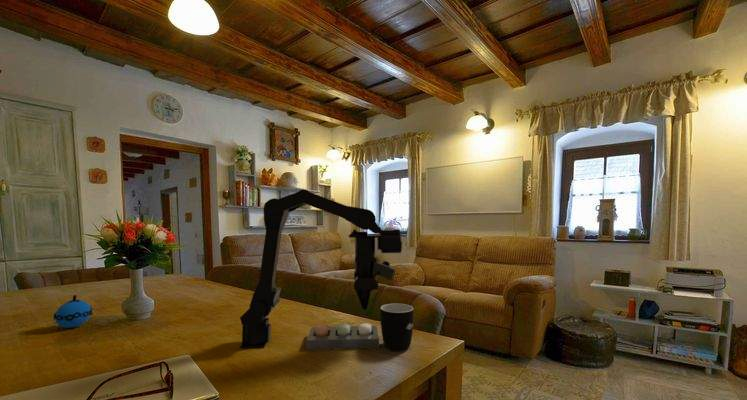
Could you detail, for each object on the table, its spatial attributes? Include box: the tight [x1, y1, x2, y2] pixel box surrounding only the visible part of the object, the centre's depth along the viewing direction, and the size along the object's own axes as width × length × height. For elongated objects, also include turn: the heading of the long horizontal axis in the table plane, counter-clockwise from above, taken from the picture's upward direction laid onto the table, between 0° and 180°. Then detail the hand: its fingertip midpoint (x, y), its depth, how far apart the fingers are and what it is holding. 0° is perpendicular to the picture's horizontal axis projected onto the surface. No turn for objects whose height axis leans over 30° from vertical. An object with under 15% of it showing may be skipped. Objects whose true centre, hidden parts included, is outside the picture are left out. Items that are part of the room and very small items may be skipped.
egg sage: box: [336, 323, 351, 336], centre depth 86 cm, size 4×4×3 cm
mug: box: [379, 303, 415, 352], centre depth 84 cm, size 12×9×10 cm
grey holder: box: [305, 325, 380, 351], centre depth 86 cm, size 10×19×2 cm, turn 94°
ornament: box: [53, 294, 93, 329], centre depth 98 cm, size 9×9×10 cm
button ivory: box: [358, 323, 373, 335], centre depth 87 cm, size 4×4×3 cm
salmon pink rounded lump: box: [314, 323, 330, 336], centre depth 86 cm, size 4×4×3 cm
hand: (364, 309), depth 87 cm, fingers closed
